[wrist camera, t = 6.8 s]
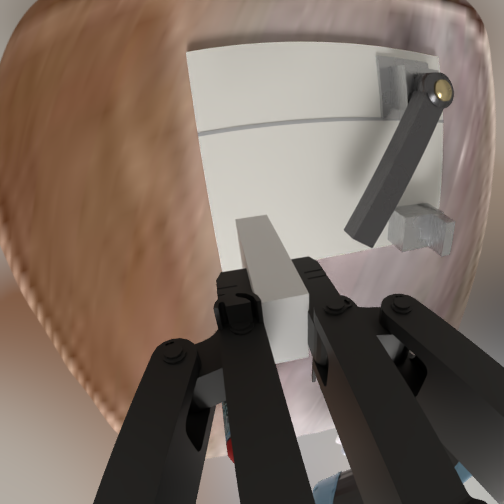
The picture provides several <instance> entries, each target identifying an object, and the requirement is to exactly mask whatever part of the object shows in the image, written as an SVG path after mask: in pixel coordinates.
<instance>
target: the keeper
mask: <svg viewBox="0 0 504 504" xmlns="http://www.w3.org/2000/svg"><path fill="white" fill-rule="evenodd" d="M443 213H444V212H442V211H441V210H439V209H437V208H436V207H434V206H432V205H430V204H428V203H420V204H413V205H405V206H398V207H396V208H395V210H394V212H393V213H392V215H391V217H390V219H389V227H388V240H389V241H390V242H391V243H392V244H393V245H395V246H396V247H397V248H398V249H399V250H400V251H401V252H405V251H409V250H414V249H418V248H423V247H427V246H428V247H430V248H431V249H432V250H433V251H435V252H436V253H437V254H439V255H440V256H441V257H442V256H446V255H450V251H451V245H452V240H453V234H454V227H455V221H454V220H452V219H451V218H449V217H447V216H446V215H444V214H443Z"/></svg>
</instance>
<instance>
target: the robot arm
mask: <svg viewBox="0 0 504 504" xmlns="http://www.w3.org/2000/svg"><path fill="white" fill-rule="evenodd" d="M235 221H236V228H237V234H238V241H239V248H240V255H241V262H242V268H243V269H237V270H232V271H226V272H221V273H220V275H219V277H218V278H217V280H216V282H217V294H218V300H217V301H216V302H215V304H214V308H213V309H214V313H215V317H216V321H217V325H218V330H217V331H216V333H215V334H214V335H213V336H211V337H210V338H209V339H207V340H205V341H202V342H200V343H197V344H195V345H194V343H192V342H191V341H189V340H187V339H182V338H178V339H171V340H168V341H165V342H163V343H162V344H161V345H159V346H158V347H157V348H156V349H155V351H154V352H153V354H152V356H151V359H150V361H149V363H148V365H147V368H146V370H145V372H144V375H143V377H142V379H141V382H140V384H139V386H138V389H137V391H136V393H135V396H134V398H133V401H132V403H131V405H130V408H129V410H128V413H127V415H126V418H125V420H124V423H123V425H122V428H121V430H120V433H119V435H118V438H117V440H116V443H115V446H114V448H113V451H112V453H111V456H110V459H109V461H108V464H107V467H106V469H105V472H104V475H103V477H102V480H101V483H100V486H99V489H98V491H97V494H96V497H95V500H94V503H93V504H196V499H197V494H198V490H199V485H200V480H201V474H202V470H203V465H204V461H205V456H206V451H207V446H208V441H209V436H210V432H211V427H212V422H213V417H214V413H215V408H216V405H217V404H219V403H221V402H224V401H226V403H227V412H228V420H229V428H230V435H231V443H232V450H233V457H234V464H235V471H236V478H237V484H238V491H239V497H240V504H487V503H486V502H484V501H482V500H478V499H474V498H472V497H471V496H470V495H469V494H468V492H467V491H466V489H465V487H464V485H463V483H464V482H466V481H467V480H468V479H469V478H470V477H471V476H473V477H474V478H475V479H476V480H477V481H478V482H479V483H480V484H481V485H482V486H483V487H484V488H485V489H486V491H487V492H488V493H489V494H490V495H491V496H492V497H493V498H494V499H495V500H496V501H497V502H498V503H499V504H504V367H502V366H501V365H500V364H499V363H498V362H496V361H495V360H494V359H493V358H491V357H490V356H489V355H488V354H486V353H485V352H484V351H483V350H482V349H480V348H479V347H478V346H477V345H475V344H474V343H473V342H472V341H470V340H469V339H468V338H466V337H465V336H464V335H463V334H461V333H460V332H459V331H457V330H456V329H455V328H453V327H452V326H451V325H450V324H448V323H447V322H446V321H444V320H443V319H442V318H440V317H439V316H438V315H436V314H435V313H434V312H432V311H431V310H430V309H428V308H427V307H426V306H424V305H423V304H421V303H420V302H419V301H417V300H416V299H414V298H412V297H411V296H408V295H404V294H393V295H389V296H387V297H386V298H385V299H383V301H382V304H381V307H370V308H366V307H357V305H356V304H355V303H354V302H353V301H352V300H351V299H350V298H348V297H345V296H342V295H340V294H339V293H338V291H337V290H336V288H335V287H334V285H333V284H332V282H331V281H330V279H329V278H328V276H327V275H326V273H325V272H324V270H323V269H322V267H321V266H320V264H319V263H318V261H316V260H314V259H313V258H311V257H309V256H307V257H302V258H296V259H290V257H289V255H288V253H287V251H286V249H285V247H284V245H283V244H282V242H281V240H280V238H279V236H278V234H277V232H276V231H275V229H274V227H273V225H272V223H271V221H270V220H269V218H268V216H267V214H266V215H260V216H253V217H247V218H241V219H235ZM309 348H310V351H311V353H312V356H313V361H312V382H315V381H316V377H317V380H318V383H319V385H320V388H321V390H322V393H323V396H324V398H325V401H326V403H327V406H328V409H329V411H330V414H331V417H332V419H333V422H334V425H335V427H336V430H337V432H338V435H339V438H340V440H341V443H342V446H343V448H344V451H345V454H346V456H347V459H348V462H349V465H350V467H351V469H349V470H346V471H344V472H342V471H341V472H339V473H338V474H336V475H334V476H331V477H329V478H326V479H324V480H321V481H320V482H318V483H317V484H316V485H315V487H314V490H313V493H312V490H311V487H310V484H309V480H308V477H307V473H306V470H305V466H304V463H303V459H302V456H301V452H300V449H299V445H298V442H297V438H296V435H295V431H294V428H293V424H292V421H291V417H290V414H289V410H288V407H287V403H286V400H285V396H284V393H283V389H282V386H281V382H280V379H279V375H278V371H277V368H276V364H278V363H283V362H288V361H292V360H297V359H301V358H306V357H309ZM410 350H411V351H412V352H413V353H414V354H415V355H416V356H415V355H413V354H411V353H410V352H409V351H410Z"/></svg>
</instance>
